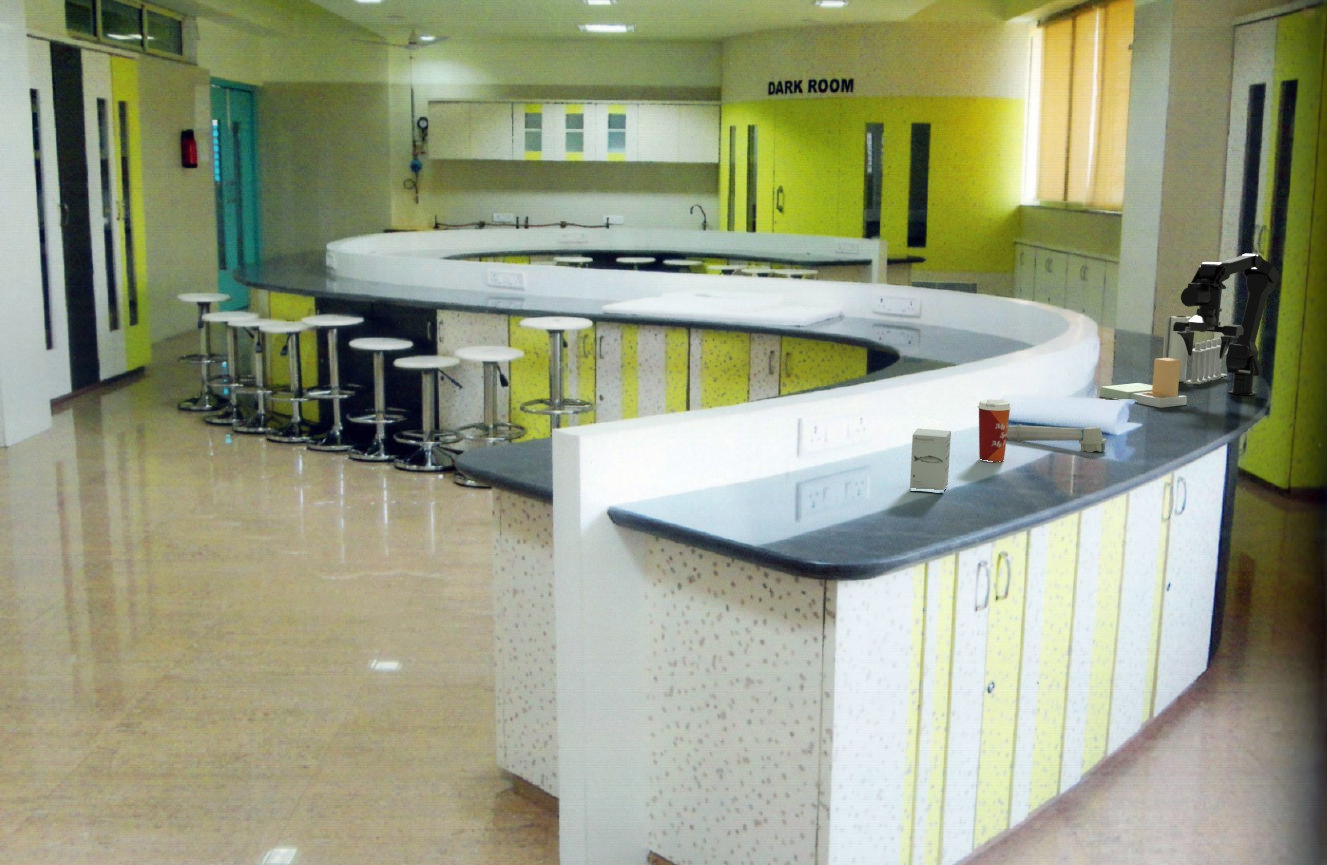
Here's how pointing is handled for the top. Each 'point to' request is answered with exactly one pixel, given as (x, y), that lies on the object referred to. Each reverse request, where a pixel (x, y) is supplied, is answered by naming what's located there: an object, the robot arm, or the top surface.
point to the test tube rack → (1206, 362)
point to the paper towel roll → (1175, 344)
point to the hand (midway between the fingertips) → (1205, 357)
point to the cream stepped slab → (1140, 395)
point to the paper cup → (993, 429)
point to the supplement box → (930, 459)
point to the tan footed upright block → (1165, 378)
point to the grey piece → (1059, 435)
